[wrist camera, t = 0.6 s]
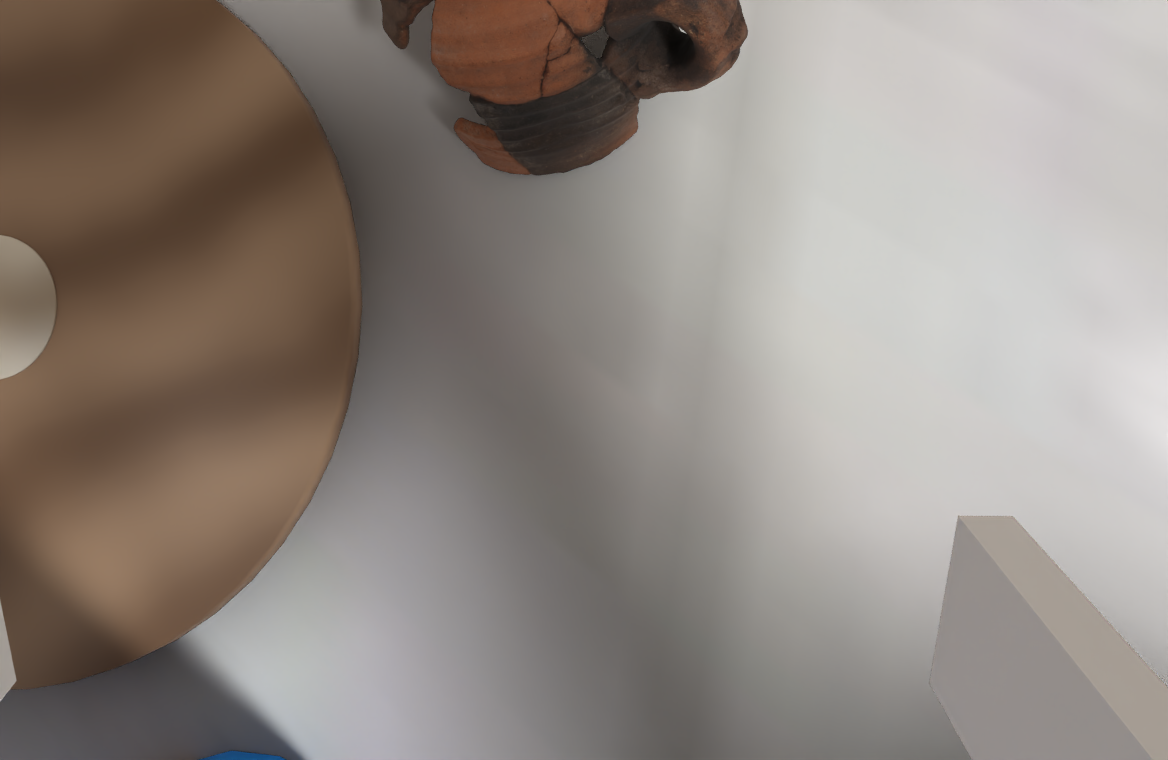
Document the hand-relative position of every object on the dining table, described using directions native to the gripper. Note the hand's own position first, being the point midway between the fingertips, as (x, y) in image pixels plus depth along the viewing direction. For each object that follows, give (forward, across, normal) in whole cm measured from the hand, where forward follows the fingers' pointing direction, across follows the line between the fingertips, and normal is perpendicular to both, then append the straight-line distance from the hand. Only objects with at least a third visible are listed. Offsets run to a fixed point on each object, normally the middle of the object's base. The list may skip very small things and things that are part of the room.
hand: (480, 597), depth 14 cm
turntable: (+23, +18, +3) cm, 29 cm away
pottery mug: (+24, -2, -6) cm, 25 cm away
